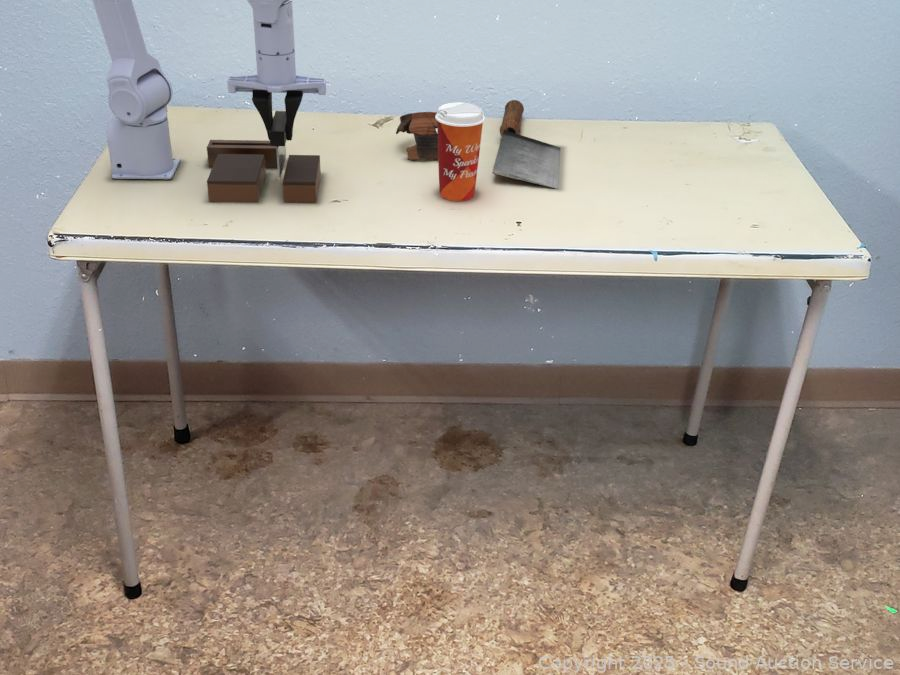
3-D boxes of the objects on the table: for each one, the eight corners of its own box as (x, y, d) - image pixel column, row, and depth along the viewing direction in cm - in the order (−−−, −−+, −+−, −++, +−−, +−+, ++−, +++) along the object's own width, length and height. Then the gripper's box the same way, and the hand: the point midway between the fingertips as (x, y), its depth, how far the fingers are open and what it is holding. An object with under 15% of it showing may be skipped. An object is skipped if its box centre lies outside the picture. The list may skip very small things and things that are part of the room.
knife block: (208, 167, 159) (206, 147, 157) (212, 159, 162) (210, 139, 160) (281, 168, 160) (280, 148, 158) (283, 160, 163) (282, 140, 161)
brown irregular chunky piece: (390, 162, 165) (386, 114, 164) (410, 168, 174) (407, 122, 173) (456, 154, 161) (452, 104, 160) (473, 160, 170) (469, 113, 169)
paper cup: (446, 207, 149) (449, 120, 141) (424, 188, 154) (426, 104, 147) (490, 199, 152) (495, 114, 144) (467, 181, 158) (471, 98, 150)
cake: (209, 201, 147) (206, 180, 146) (219, 173, 157) (217, 153, 155) (258, 202, 148) (256, 181, 146) (265, 174, 157) (264, 154, 155)
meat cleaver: (558, 188, 156) (561, 165, 154) (489, 183, 157) (491, 160, 155) (561, 121, 185) (563, 101, 183) (503, 117, 186) (505, 96, 184)
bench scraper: (278, 155, 155) (275, 109, 151) (292, 155, 155) (289, 110, 151) (271, 179, 147) (269, 132, 143) (286, 179, 147) (283, 132, 143)
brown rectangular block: (283, 202, 148) (282, 181, 146) (290, 174, 157) (289, 154, 156) (316, 202, 148) (315, 181, 147) (320, 175, 158) (319, 155, 156)
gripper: (221, 56, 137) (229, 146, 144) (322, 59, 138) (325, 148, 145) (228, 43, 143) (236, 130, 150) (325, 45, 144) (328, 131, 151)
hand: (280, 138), depth 148 cm, fingers closed on bench scraper, 2 cm apart
